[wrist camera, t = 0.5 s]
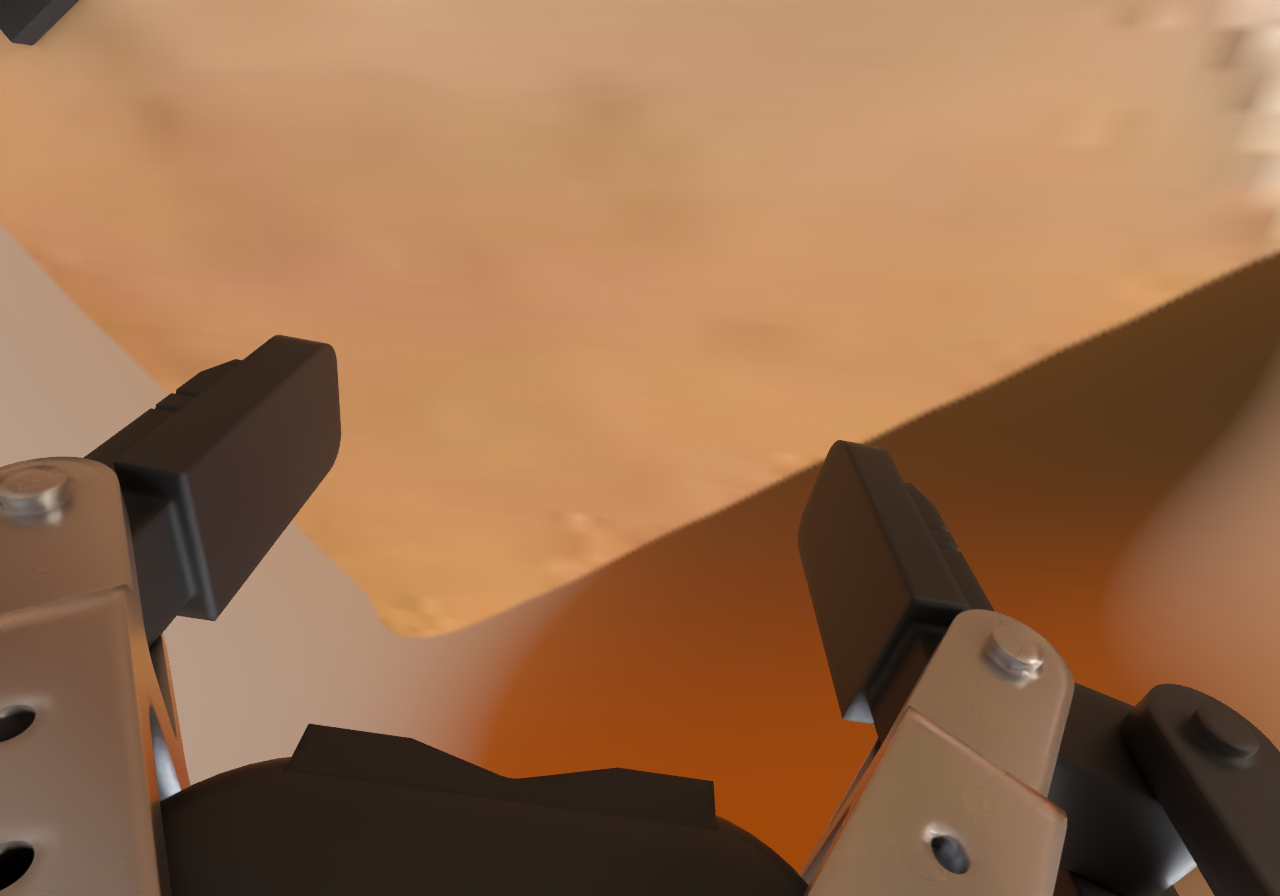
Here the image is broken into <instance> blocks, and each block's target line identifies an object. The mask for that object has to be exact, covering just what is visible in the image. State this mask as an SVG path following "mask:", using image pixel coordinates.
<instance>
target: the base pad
mask: <svg viewBox="0 0 1280 896" xmlns="http://www.w3.org/2000/svg"><path fill="white" fill-rule="evenodd" d="M77 1H78V0H0V29H1V30H2V32H3V33H4V34H5V35H6V36H7V38H8V39H9V40H10V41H11V42H13V43H19V44H27V45H33V44H35V43H36V42H37V41H38V40H39V39H40V38H41V37H42V36H43V35H44V34H45V33H46V32H47V31H48V30H49V29H50V28H51V27H52V26H53V25H54V24H55V23H56V22H57V21H58V20H59V19H60V18H61V17H62V16H63V15H64V14H65V13H66V12H67V11H68V10H69V9H70V8H71V7H72V6H73V5H74V4H75V3H76V2H77Z"/></svg>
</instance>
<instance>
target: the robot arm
mask: <svg viewBox="0 0 1280 896" xmlns="http://www.w3.org/2000/svg"><path fill="white" fill-rule="evenodd" d="M340 440H341V422H340V406H339V390H338V373H337V359H336V354H335V351H334V349H333V347H332V346H331V345H329V344H326V343H320V342H315V341H310V340H304V339H299V338H294V337H288V336H283V335H276V336H274V337H272V338H271V339H269V340H268V341H267V342H266V343H264V344H263V345H262V346H260V347H259V348H258V349H257V350H255V351H254V352H253V353H251V354H250V355H249V356H248V357H246V358H245V359H244V360H237V359H235V360H232V361H229V362H227V363H224V364H221V365H218V366H215V367H213V368H210V369H207V370H204V371H202V372H200V373H198V374H197V375H196V376H194V377H193V378H192V379H190V380H189V381H187V382H186V383H185V384H183V385H182V386H181V387H179V388H178V389H177V390H176V394H173V393H171V394H170V395H168V396H167V397H166V398H164V399H163V400H162V401H160V402H159V403H158V404H156V408H155V409H149V410H148V411H147V412H146V413H144V414H143V415H141V416H140V417H139V418H137V419H136V420H134V421H133V422H132V423H130V424H129V425H128V426H127V427H125V428H123V429H122V430H121V431H119V432H118V433H117V434H115V435H114V436H113V437H111V438H110V439H109V440H107V441H106V442H104V443H103V444H102V445H100V446H99V447H98V448H97V449H95V450H94V451H92V452H91V453H89V454H88V455H87V456H85V457H84V458H78V457H48V458H38V459H32V460H27V461H22V462H17V463H13V464H9V465H6V466H3V467H0V896H1179V895H1178V894H1177V892H1176V890H1175V888H1174V886H1173V884H1174V883H1175V882H1177V881H1178V880H1179V879H1181V878H1182V877H1183V876H1184V875H1186V874H1187V873H1188V872H1190V871H1191V870H1192V869H1193V868H1195V867H1196V866H1198V868H1199V870H1200V872H1201V873H1202V875H1203V877H1204V878H1205V880H1206V882H1207V883H1208V885H1209V887H1210V889H1211V890H1212V892H1213V894H1214V895H1215V896H1280V752H1279V751H1278V749H1276V747H1275V746H1274V745H1273V744H1272V743H1271V741H1270V740H1269V739H1268V738H1267V737H1266V736H1265V735H1264V734H1263V733H1262V732H1261V731H1260V730H1258V729H1257V728H1256V727H1255V726H1254V725H1253V724H1251V723H1250V722H1249V721H1248V720H1246V719H1245V718H1244V717H1243V716H1241V715H1240V714H1238V713H1237V712H1236V711H1234V710H1233V709H1231V708H1230V707H1228V706H1227V705H1225V704H1223V703H1222V702H1220V701H1218V700H1216V699H1214V698H1213V697H1210V696H1208V695H1206V694H1204V693H1202V692H1200V691H1197V690H1194V689H1192V688H1189V687H1185V686H1181V685H1175V684H1161V685H1157V686H1155V687H1154V688H1152V689H1151V690H1150V691H1149V692H1148V694H1146V695H1145V697H1144V698H1143V699H1142V700H1141V701H1140V702H1139V703H1138V704H1137V705H1136V706H1135V707H1134V706H1132V705H1129V704H1127V703H1124V702H1122V701H1119V700H1117V699H1114V698H1112V697H1109V696H1107V695H1104V694H1102V693H1100V692H1097V691H1095V690H1092V689H1090V688H1087V687H1085V686H1082V685H1080V684H1077V683H1075V682H1074V680H1073V676H1072V673H1071V671H1070V668H1069V667H1068V665H1067V663H1066V662H1065V660H1064V659H1063V657H1062V656H1061V655H1060V654H1059V652H1058V651H1057V650H1056V649H1055V648H1054V647H1053V646H1052V645H1051V644H1050V643H1049V642H1048V641H1046V640H1045V639H1044V638H1043V637H1042V636H1041V635H1039V634H1038V633H1036V632H1035V631H1034V630H1032V629H1031V628H1029V627H1028V626H1026V625H1024V624H1023V623H1021V622H1018V621H1017V620H1015V619H1013V618H1010V617H1008V616H1005V615H1003V614H1000V613H997V612H995V611H994V609H993V608H992V606H991V604H990V602H989V601H988V599H987V597H986V595H985V594H984V592H983V590H982V589H981V587H980V585H979V583H978V581H977V579H976V578H975V576H974V574H973V572H972V571H971V569H970V568H969V566H968V564H967V562H966V560H965V558H964V557H963V555H962V553H961V552H959V551H957V548H958V546H957V544H956V543H955V541H954V539H953V537H952V536H951V534H950V532H947V531H946V529H947V527H946V525H945V523H944V522H943V520H942V518H941V516H940V514H939V513H938V511H937V509H936V507H935V506H934V505H933V504H932V503H931V502H930V501H929V500H928V499H927V498H926V497H925V496H924V495H923V494H922V493H921V492H920V491H918V490H917V489H916V488H915V487H914V486H913V485H912V484H910V483H906V482H903V480H902V478H901V476H900V474H899V472H898V470H897V468H896V467H895V465H894V463H893V461H892V459H891V457H890V455H889V453H888V452H887V450H885V449H884V448H880V447H874V446H869V445H864V444H858V443H853V442H848V441H842V440H838V441H836V442H835V443H834V444H833V445H832V447H831V448H830V450H829V452H828V454H827V457H826V459H825V462H824V464H823V466H822V469H821V471H820V474H819V476H818V479H817V481H816V484H815V486H814V489H813V491H812V493H811V495H810V498H809V500H808V503H807V505H806V508H805V510H804V512H803V515H802V518H801V522H800V527H799V535H798V546H799V552H800V556H801V560H802V564H803V568H804V571H805V576H806V579H807V583H808V587H809V591H810V595H811V599H812V602H813V607H814V611H815V614H816V618H817V622H818V626H819V630H820V634H821V638H822V641H823V645H824V649H825V653H826V657H827V661H828V665H829V668H830V672H831V676H832V680H833V684H834V688H835V692H836V696H837V699H838V703H839V707H840V711H841V715H842V719H844V720H850V721H858V722H864V723H870V724H874V725H875V728H876V731H877V735H878V738H877V740H876V742H875V743H874V745H873V746H872V748H871V749H870V751H869V753H868V754H867V756H866V758H865V760H864V761H863V763H862V765H861V767H860V768H859V770H858V772H857V774H856V775H855V777H854V779H853V781H852V783H851V784H850V786H849V788H848V789H847V791H846V793H845V795H844V797H843V798H842V800H841V802H840V804H839V806H838V807H837V809H836V811H835V813H834V814H833V816H832V818H831V819H830V821H829V823H828V825H827V827H826V828H825V830H824V832H823V833H822V835H821V837H820V839H819V840H818V842H817V844H816V846H815V847H814V849H813V851H812V852H811V854H810V856H809V858H808V859H807V861H806V862H805V864H804V866H803V867H802V869H801V871H800V872H799V874H798V873H797V872H796V871H795V870H794V869H793V868H792V867H791V866H790V865H789V864H788V863H787V862H786V861H785V860H784V859H782V858H781V857H780V856H779V855H778V854H777V853H776V852H774V851H773V850H772V849H771V848H770V847H768V846H767V845H766V844H764V843H763V842H762V841H760V840H759V839H757V838H756V837H755V836H753V835H752V834H750V833H749V832H747V831H745V830H744V829H742V828H740V827H738V826H736V825H735V824H733V823H731V822H729V821H727V820H725V819H723V818H721V817H718V816H716V815H715V801H714V786H713V781H707V780H699V779H693V778H686V777H679V776H672V775H665V774H658V773H651V772H644V771H637V770H630V769H623V768H610V769H602V770H592V771H584V772H575V773H566V774H557V775H548V776H539V777H530V778H521V779H513V778H506V777H503V776H500V775H498V774H495V773H493V772H491V771H488V770H486V769H483V768H481V767H479V766H476V765H474V764H471V763H469V762H467V761H464V760H462V759H460V758H457V757H455V756H452V755H450V754H448V753H445V752H443V751H440V750H438V749H436V748H433V747H431V746H428V745H426V744H424V743H422V742H419V741H417V740H414V739H412V738H406V737H398V736H392V735H385V734H378V733H371V732H364V731H357V730H350V729H342V728H336V727H328V726H321V725H315V724H308V726H307V728H306V730H305V732H304V734H303V736H302V738H301V740H300V742H299V744H298V746H297V748H296V750H295V751H294V754H293V756H292V757H287V758H278V759H273V760H269V761H263V762H259V763H254V764H249V765H246V766H243V767H240V768H237V769H233V770H230V771H227V772H224V773H220V774H218V775H215V776H213V777H211V778H208V779H206V780H204V781H201V782H198V783H196V784H194V785H191V786H190V781H189V777H188V773H187V768H186V763H185V757H184V752H183V746H182V739H181V733H180V727H179V721H178V715H177V709H176V703H175V697H174V691H173V684H172V678H171V672H170V666H169V660H168V654H167V648H166V644H165V641H164V637H163V631H164V630H165V629H166V628H167V627H168V625H169V624H170V623H171V622H172V621H173V619H174V618H175V617H176V616H177V615H178V616H185V617H191V618H198V619H204V620H210V621H215V620H216V619H217V617H218V616H219V615H220V614H221V612H222V611H223V610H224V609H225V607H226V606H227V605H228V603H229V602H230V601H231V599H232V598H233V597H234V595H235V594H236V593H237V591H238V590H239V589H240V588H241V586H242V585H243V584H244V582H245V581H246V580H247V578H248V577H249V576H250V574H251V573H252V572H253V571H254V569H255V568H256V567H257V565H258V564H259V563H260V561H261V560H262V559H263V557H264V556H265V555H266V553H267V552H268V551H269V550H270V548H271V547H272V546H273V544H274V543H275V542H276V540H277V539H278V538H279V536H280V535H281V534H282V532H283V531H284V530H285V529H286V527H287V526H288V525H289V523H290V522H291V521H292V519H293V518H294V517H295V515H296V514H297V513H298V512H299V510H300V509H301V508H302V506H303V505H304V504H305V502H306V501H307V500H308V498H309V497H310V496H311V494H312V493H313V492H314V491H315V489H316V488H317V487H318V485H319V484H320V483H321V481H322V480H323V479H324V477H325V476H326V475H327V473H328V472H329V471H330V469H331V468H332V466H333V464H334V462H335V460H336V457H337V454H338V450H339V446H340Z"/></svg>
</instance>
